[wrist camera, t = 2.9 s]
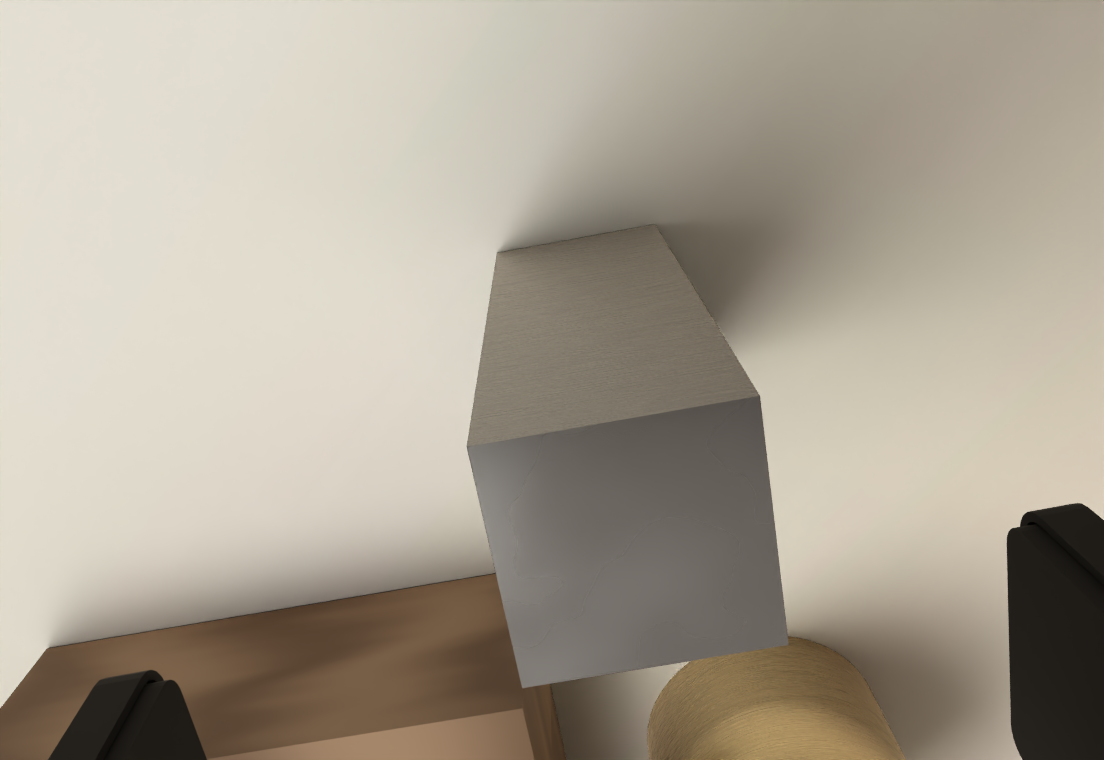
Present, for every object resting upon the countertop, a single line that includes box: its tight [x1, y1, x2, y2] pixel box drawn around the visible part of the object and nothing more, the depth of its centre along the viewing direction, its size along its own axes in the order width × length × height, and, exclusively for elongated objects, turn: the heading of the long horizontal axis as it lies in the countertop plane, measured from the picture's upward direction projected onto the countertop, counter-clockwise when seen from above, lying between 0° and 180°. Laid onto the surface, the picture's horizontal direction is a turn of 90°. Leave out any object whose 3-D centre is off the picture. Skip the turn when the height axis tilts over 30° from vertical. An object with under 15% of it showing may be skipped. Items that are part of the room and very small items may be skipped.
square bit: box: [467, 224, 789, 688], centre depth 20 cm, size 4×4×12 cm
